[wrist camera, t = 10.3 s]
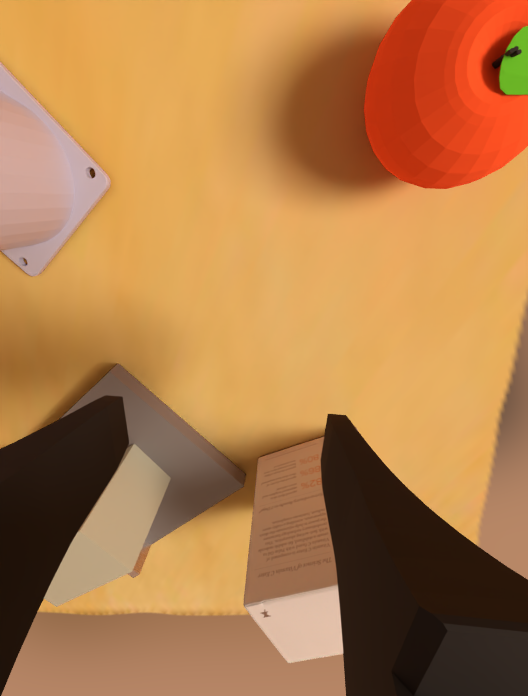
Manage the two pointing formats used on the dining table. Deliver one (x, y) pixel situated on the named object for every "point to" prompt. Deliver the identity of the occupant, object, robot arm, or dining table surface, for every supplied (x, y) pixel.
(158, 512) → the grey square slab
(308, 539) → the small box
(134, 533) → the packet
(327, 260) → the dining table surface
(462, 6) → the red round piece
